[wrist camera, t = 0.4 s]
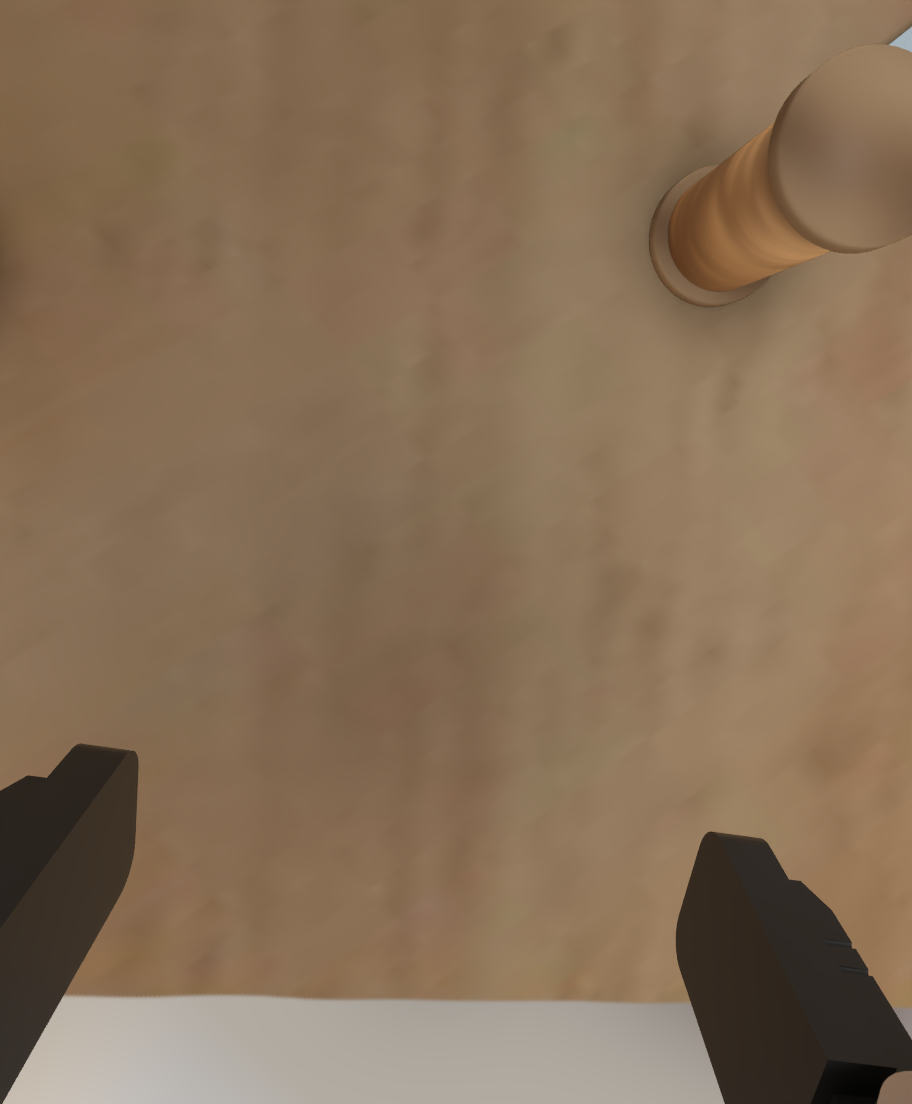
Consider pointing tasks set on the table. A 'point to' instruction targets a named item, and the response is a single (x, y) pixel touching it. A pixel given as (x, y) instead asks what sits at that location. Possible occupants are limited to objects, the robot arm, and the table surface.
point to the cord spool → (797, 184)
